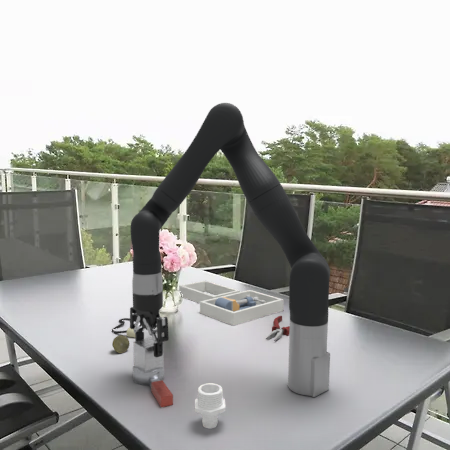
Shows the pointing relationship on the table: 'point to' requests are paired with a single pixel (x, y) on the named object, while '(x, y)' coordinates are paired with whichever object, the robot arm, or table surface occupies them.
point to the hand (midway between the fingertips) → (148, 351)
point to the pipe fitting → (210, 404)
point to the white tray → (243, 315)
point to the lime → (120, 343)
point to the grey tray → (197, 290)
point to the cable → (129, 331)
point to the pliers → (278, 329)
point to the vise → (237, 303)
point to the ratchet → (154, 385)
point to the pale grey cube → (146, 356)
